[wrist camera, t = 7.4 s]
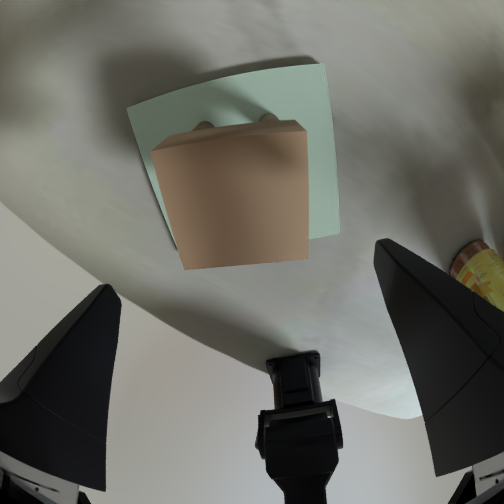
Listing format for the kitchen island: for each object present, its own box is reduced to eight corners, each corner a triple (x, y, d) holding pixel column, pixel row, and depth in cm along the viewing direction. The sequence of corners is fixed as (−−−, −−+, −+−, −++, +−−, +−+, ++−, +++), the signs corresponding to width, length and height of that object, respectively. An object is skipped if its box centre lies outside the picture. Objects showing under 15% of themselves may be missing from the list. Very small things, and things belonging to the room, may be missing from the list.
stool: (282, 108, 14) (307, 130, 8) (288, 191, 17) (308, 258, 12) (188, 119, 14) (150, 151, 9) (204, 200, 18) (184, 269, 12)
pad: (336, 228, 20) (339, 234, 19) (184, 254, 21) (182, 260, 21) (320, 64, 13) (323, 63, 12) (131, 106, 14) (126, 108, 14)
